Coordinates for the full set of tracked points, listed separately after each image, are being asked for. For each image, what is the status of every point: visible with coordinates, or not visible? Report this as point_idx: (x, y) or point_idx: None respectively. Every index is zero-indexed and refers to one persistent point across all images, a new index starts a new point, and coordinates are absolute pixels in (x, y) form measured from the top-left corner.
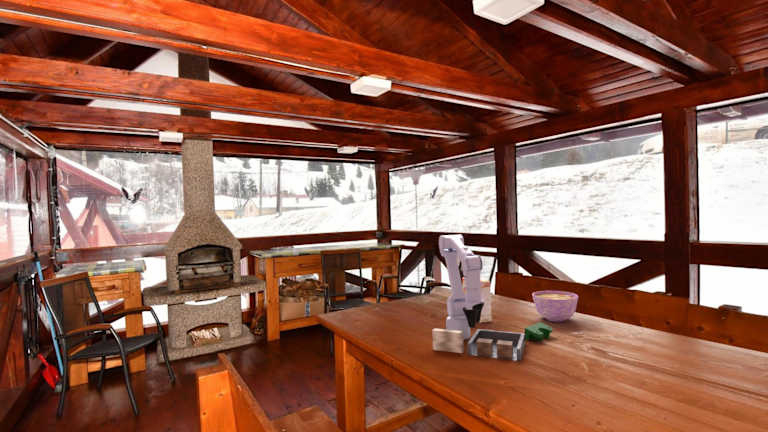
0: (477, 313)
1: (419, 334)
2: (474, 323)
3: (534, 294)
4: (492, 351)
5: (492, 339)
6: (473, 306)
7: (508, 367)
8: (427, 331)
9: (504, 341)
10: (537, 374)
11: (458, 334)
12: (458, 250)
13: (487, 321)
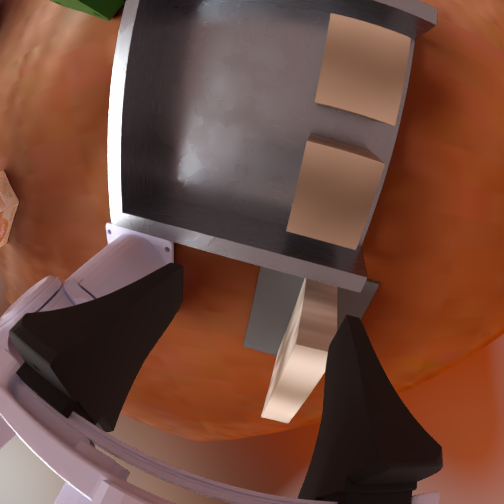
0: (140, 324)
1: (156, 363)
2: (367, 347)
3: None
4: (328, 139)
5: (148, 138)
6: (112, 397)
7: (458, 94)
8: None
9: (337, 62)
10: (490, 17)
11: None
12: None
13: (7, 181)
